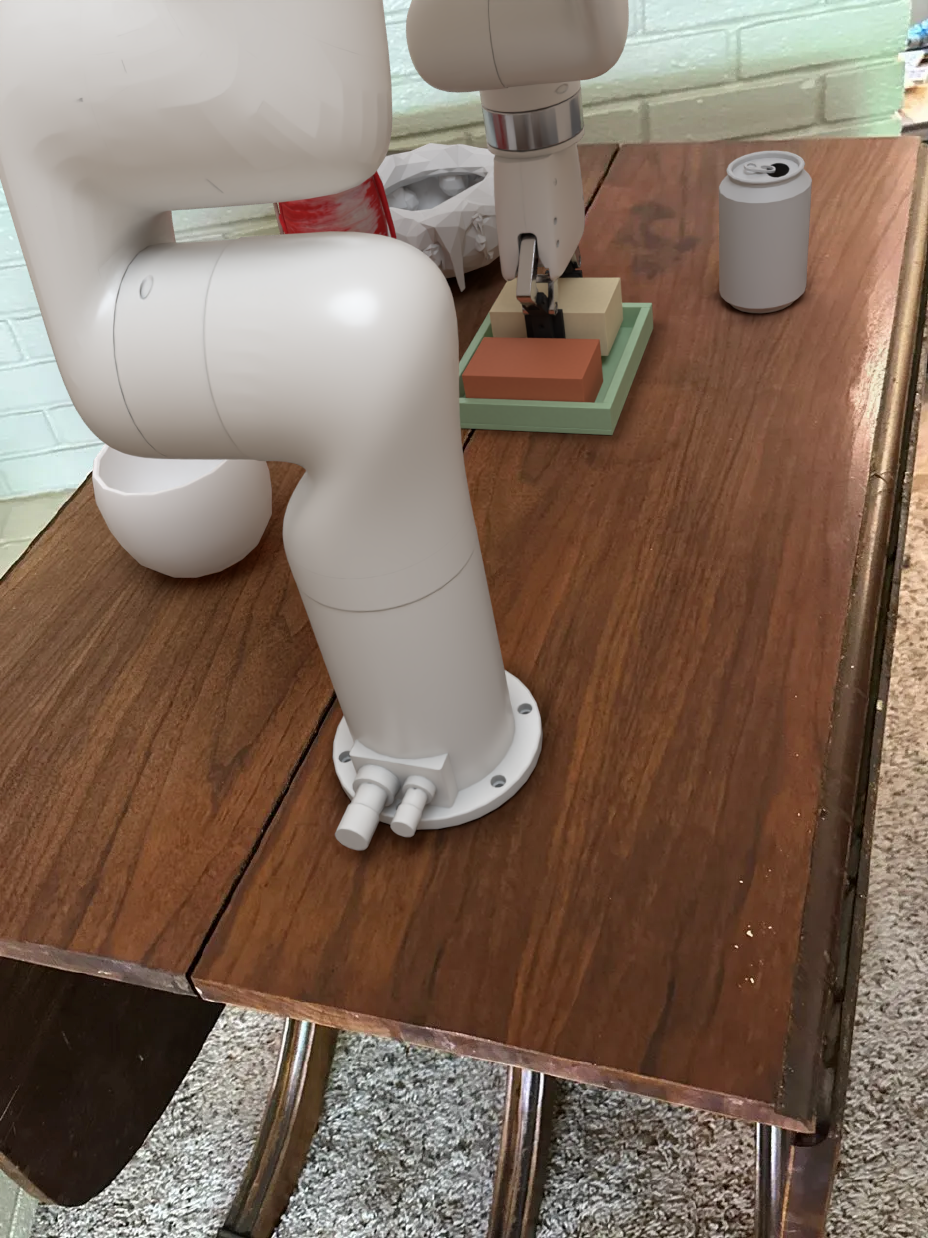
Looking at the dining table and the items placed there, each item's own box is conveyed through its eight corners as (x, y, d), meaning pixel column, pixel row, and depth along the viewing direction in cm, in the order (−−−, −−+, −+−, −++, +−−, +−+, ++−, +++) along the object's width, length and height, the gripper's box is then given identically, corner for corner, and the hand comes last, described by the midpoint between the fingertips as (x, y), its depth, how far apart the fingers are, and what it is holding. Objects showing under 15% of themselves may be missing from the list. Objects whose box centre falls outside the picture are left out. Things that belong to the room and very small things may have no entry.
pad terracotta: (586, 422, 87) (582, 378, 84) (469, 417, 90) (461, 375, 87) (603, 381, 91) (599, 338, 88) (490, 378, 94) (483, 336, 91)
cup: (121, 538, 86) (72, 437, 80) (266, 483, 89) (230, 381, 82) (149, 629, 78) (97, 524, 71) (310, 565, 80) (273, 458, 73)
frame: (612, 435, 86) (610, 408, 84) (440, 427, 90) (435, 401, 89) (653, 328, 96) (652, 302, 95) (498, 326, 101) (494, 301, 100)
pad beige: (608, 355, 91) (604, 312, 88) (495, 353, 94) (488, 311, 92) (623, 319, 95) (620, 277, 92) (514, 318, 98) (508, 277, 95)
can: (806, 315, 94) (814, 177, 86) (717, 319, 96) (717, 185, 88) (804, 274, 99) (811, 140, 91) (720, 279, 101) (720, 149, 93)
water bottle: (289, 435, 93) (192, 140, 77) (318, 384, 99) (234, 99, 82) (421, 434, 90) (351, 126, 73) (444, 382, 96) (383, 84, 79)
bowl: (307, 285, 114) (280, 192, 108) (449, 209, 123) (433, 117, 116) (434, 338, 102) (413, 235, 95) (583, 248, 110) (573, 149, 103)
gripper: (517, 81, 89) (542, 284, 101) (451, 168, 78) (488, 385, 90) (607, 75, 87) (621, 284, 99) (552, 164, 75) (576, 388, 87)
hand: (558, 330), depth 94 cm, fingers closed on pad beige, 5 cm apart
